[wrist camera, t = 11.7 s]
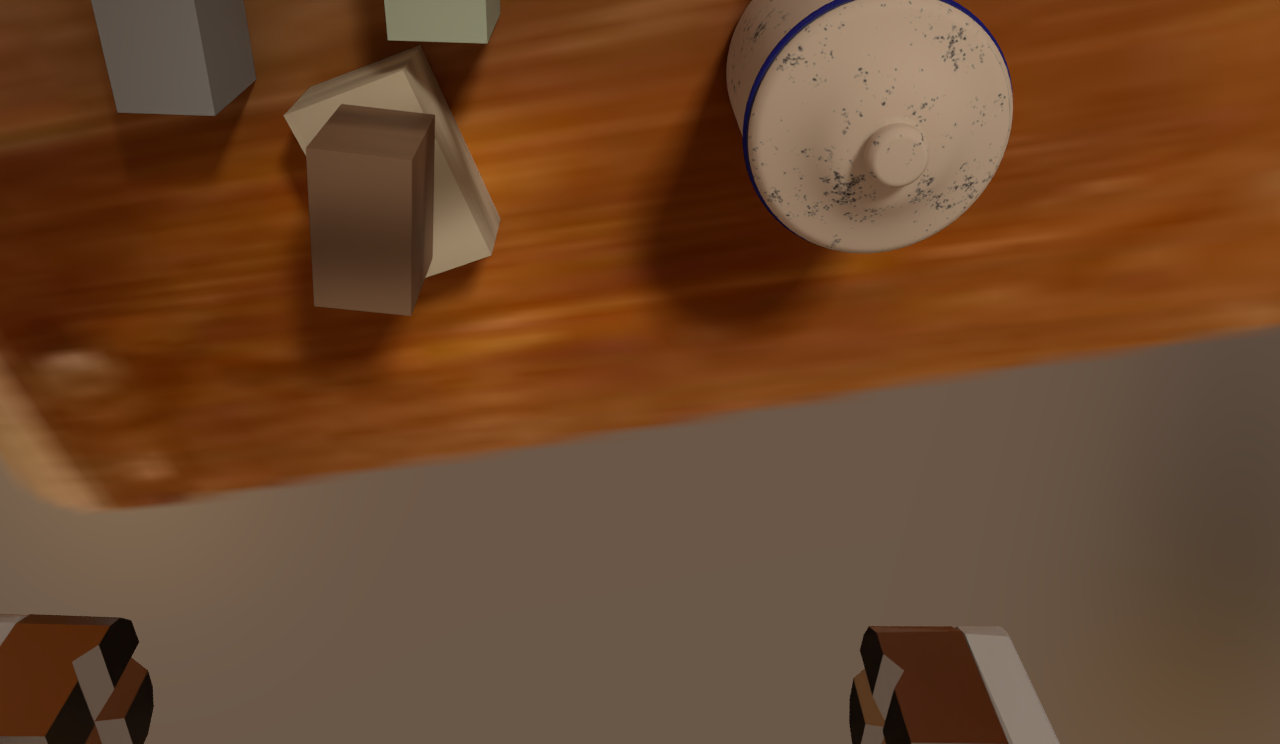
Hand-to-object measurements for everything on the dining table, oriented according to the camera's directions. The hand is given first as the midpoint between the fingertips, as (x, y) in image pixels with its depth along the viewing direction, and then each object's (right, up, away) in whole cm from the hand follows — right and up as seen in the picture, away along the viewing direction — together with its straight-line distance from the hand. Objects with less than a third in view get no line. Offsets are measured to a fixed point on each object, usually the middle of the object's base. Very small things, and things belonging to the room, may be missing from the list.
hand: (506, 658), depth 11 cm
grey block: (-16, +18, +28) cm, 36 cm away
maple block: (-8, +13, +31) cm, 35 cm away
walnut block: (-8, +11, +28) cm, 31 cm away
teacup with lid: (+9, +17, +29) cm, 35 cm away
